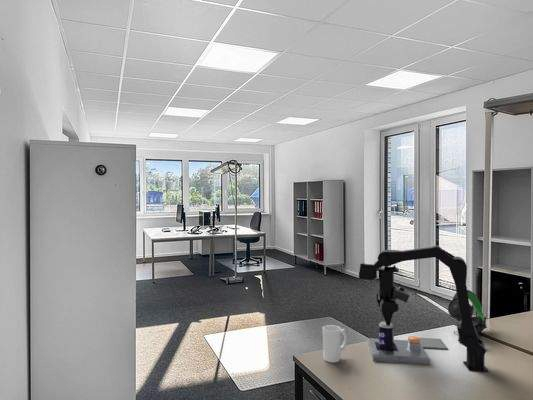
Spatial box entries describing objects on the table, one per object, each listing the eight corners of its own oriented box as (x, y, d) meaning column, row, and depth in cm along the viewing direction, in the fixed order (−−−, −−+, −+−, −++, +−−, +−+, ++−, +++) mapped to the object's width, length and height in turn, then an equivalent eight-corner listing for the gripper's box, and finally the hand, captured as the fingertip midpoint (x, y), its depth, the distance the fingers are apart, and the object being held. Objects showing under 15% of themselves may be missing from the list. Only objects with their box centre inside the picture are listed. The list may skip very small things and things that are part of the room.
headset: (462, 359, 162) (476, 313, 181) (492, 355, 152) (504, 307, 171) (436, 327, 162) (453, 285, 181) (464, 321, 152) (479, 277, 171)
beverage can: (382, 348, 153) (382, 319, 153) (395, 352, 149) (395, 322, 149) (376, 353, 148) (376, 323, 148) (390, 357, 145) (390, 326, 145)
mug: (328, 364, 139) (327, 332, 139) (319, 356, 146) (319, 326, 146) (351, 360, 143) (351, 328, 142) (342, 353, 149) (342, 323, 149)
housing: (428, 364, 139) (428, 350, 139) (373, 360, 142) (373, 347, 142) (418, 347, 154) (418, 334, 154) (368, 344, 158) (368, 332, 158)
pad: (447, 349, 152) (447, 348, 152) (421, 348, 153) (421, 346, 153) (440, 340, 162) (440, 338, 162) (416, 338, 163) (416, 337, 163)
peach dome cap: (421, 347, 145) (421, 340, 144) (409, 346, 145) (409, 340, 145) (418, 343, 149) (418, 336, 149) (407, 342, 150) (407, 335, 150)
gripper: (412, 288, 138) (412, 331, 138) (402, 277, 156) (402, 315, 157) (381, 287, 140) (381, 329, 140) (375, 276, 158) (375, 313, 158)
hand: (386, 321), depth 149 cm, fingers open, 9 cm apart
